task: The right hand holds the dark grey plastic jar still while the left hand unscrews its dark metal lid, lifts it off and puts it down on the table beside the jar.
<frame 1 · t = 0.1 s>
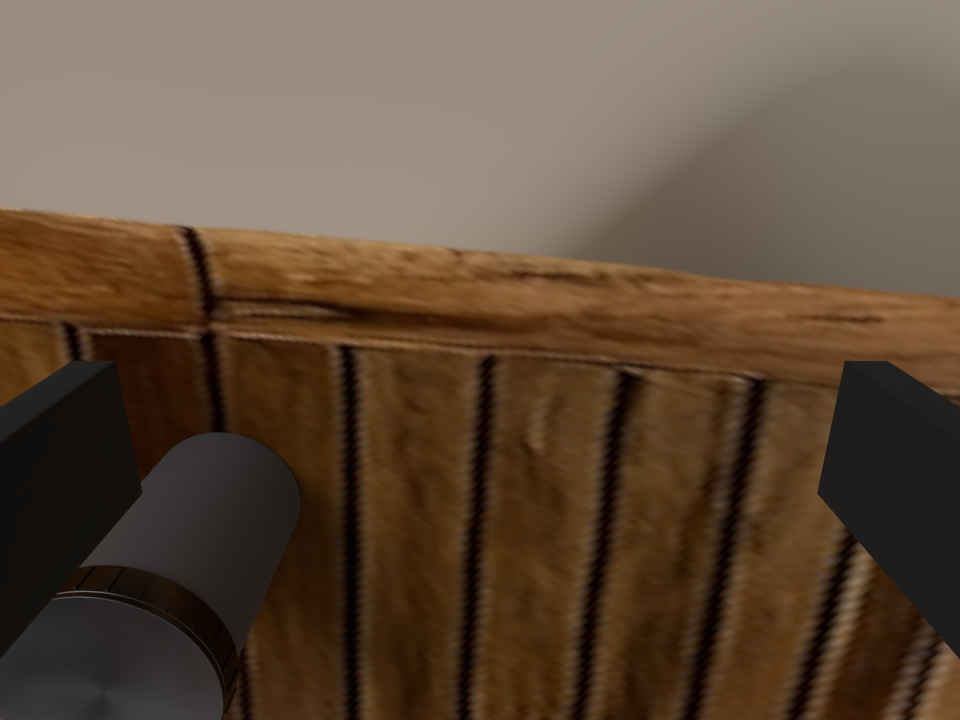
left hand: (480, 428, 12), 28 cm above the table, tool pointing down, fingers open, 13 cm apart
jar: (228, 496, 45), on the table
lid: (107, 686, 31), point 16 cm above the table, screwed on, not yet turned
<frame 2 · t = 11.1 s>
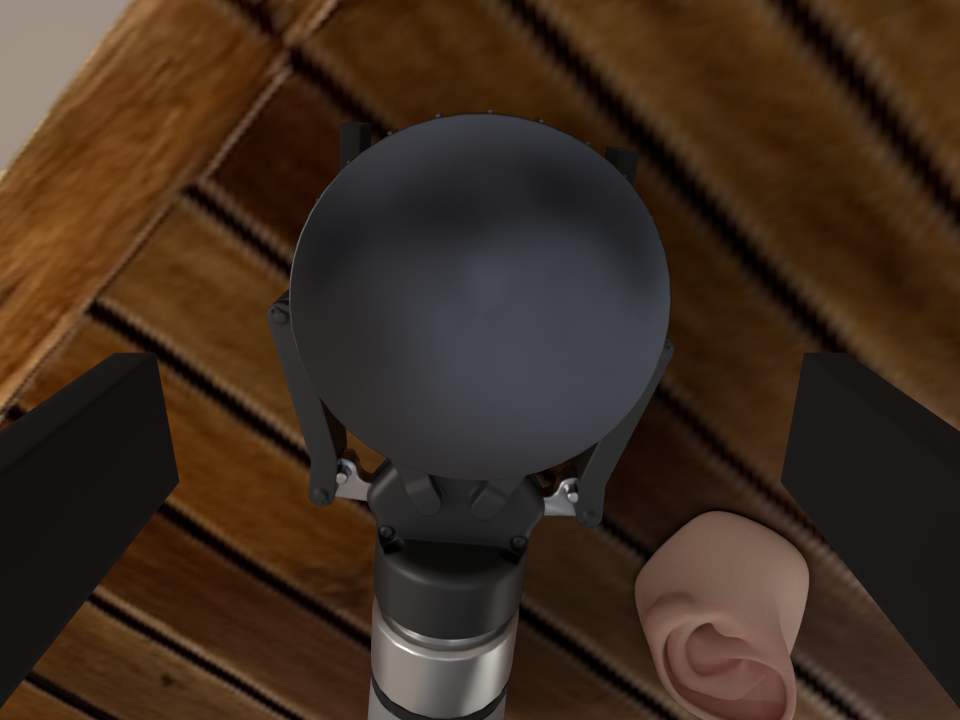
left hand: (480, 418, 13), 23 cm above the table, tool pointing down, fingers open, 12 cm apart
lid: (480, 312, 19), point 16 cm above the table, screwed on, not yet turned
anatomical model: (718, 602, 43), on the table
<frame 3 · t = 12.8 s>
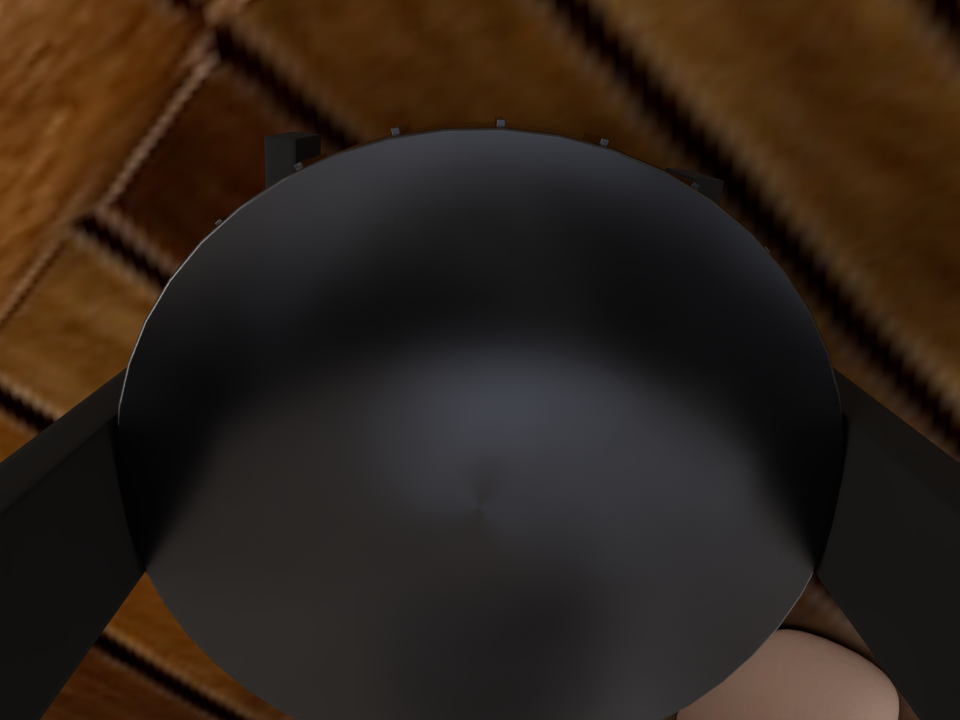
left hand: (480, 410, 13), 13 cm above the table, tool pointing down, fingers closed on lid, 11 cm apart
lid: (480, 493, 10), point 16 cm above the table, screwed on, not yet turned, touching left hand
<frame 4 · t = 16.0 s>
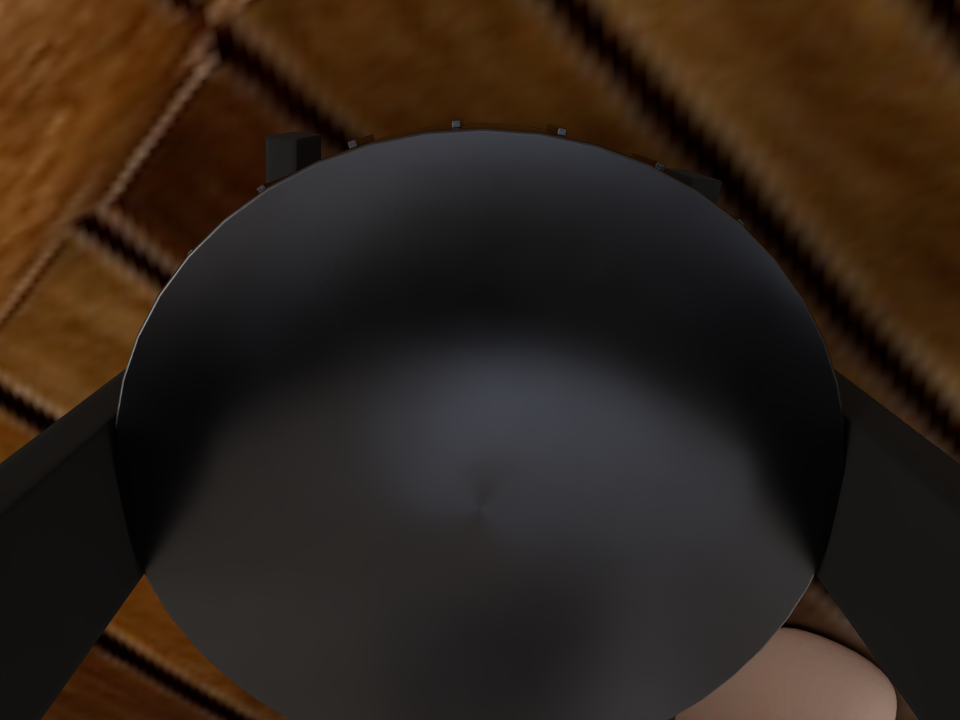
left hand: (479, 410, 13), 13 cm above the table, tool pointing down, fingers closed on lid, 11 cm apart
lid: (479, 495, 10), point 16 cm above the table, turned 93° so far, risen 0.1 cm, still on its thread, touching left hand
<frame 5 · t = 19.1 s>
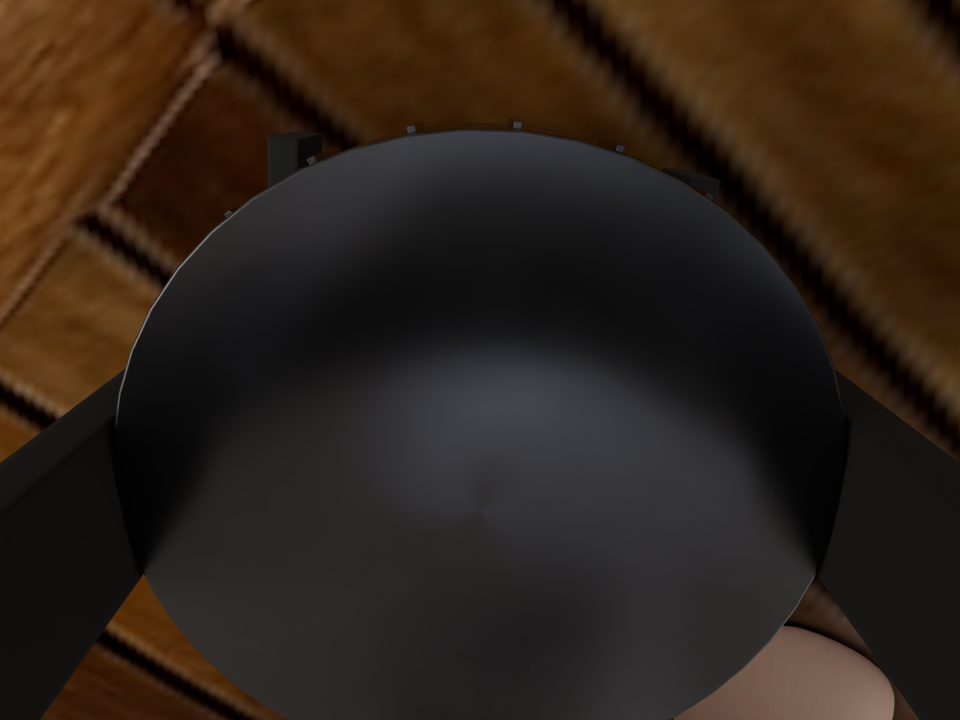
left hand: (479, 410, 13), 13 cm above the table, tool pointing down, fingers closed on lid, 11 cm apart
lid: (479, 496, 10), point 16 cm above the table, turned 185° so far, risen 0.3 cm, still on its thread, touching left hand
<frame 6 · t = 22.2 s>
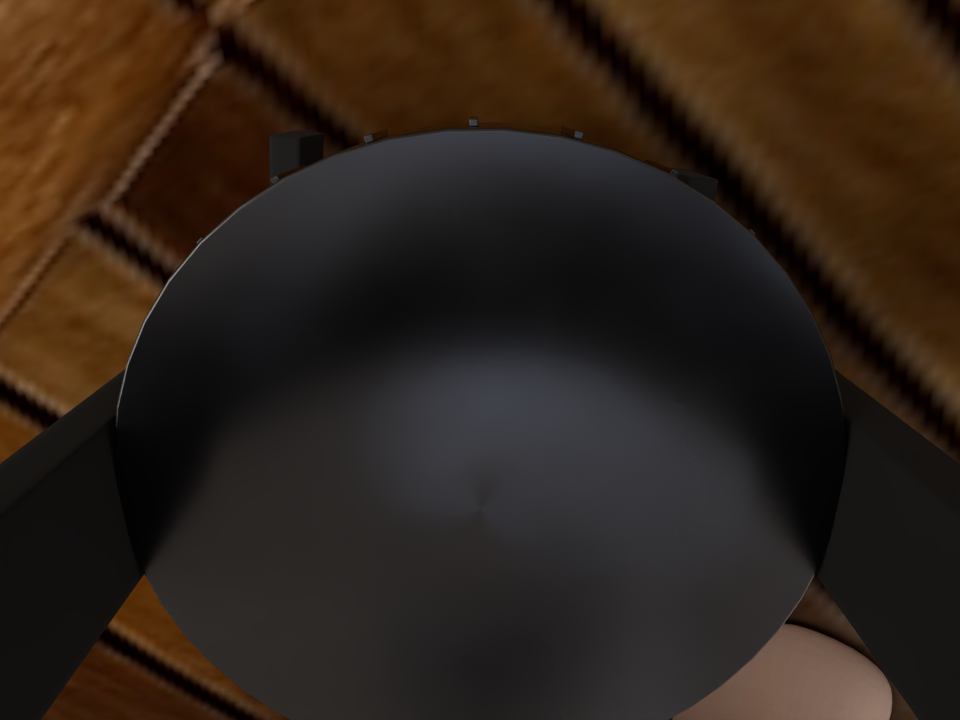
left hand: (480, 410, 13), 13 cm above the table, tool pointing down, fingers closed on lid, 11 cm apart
lid: (480, 495, 10), point 16 cm above the table, turned 278° so far, risen 0.4 cm, still on its thread, touching left hand
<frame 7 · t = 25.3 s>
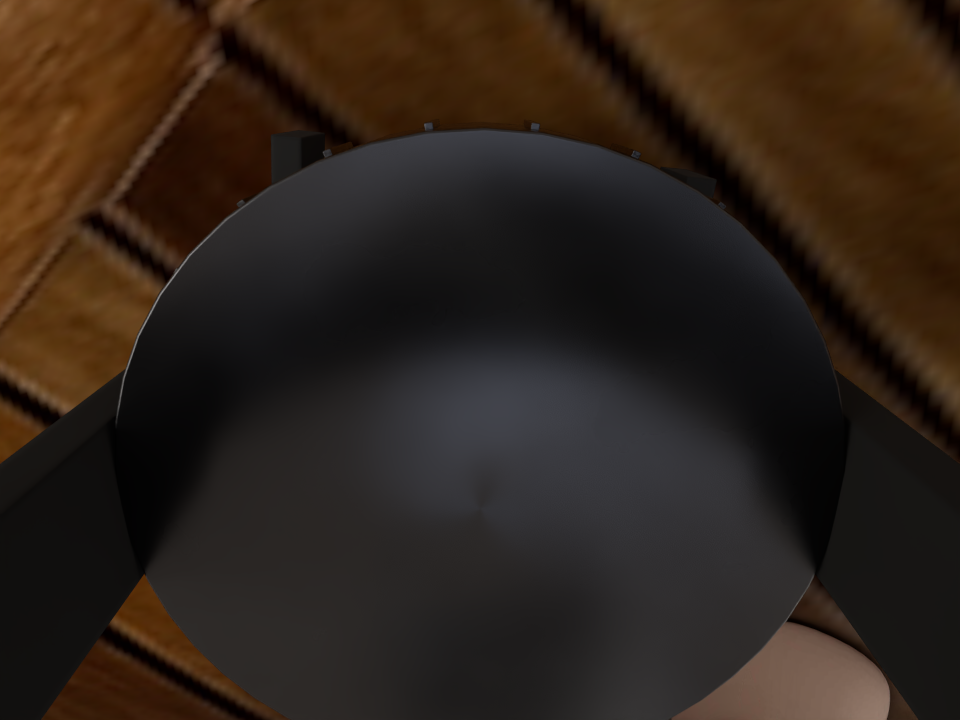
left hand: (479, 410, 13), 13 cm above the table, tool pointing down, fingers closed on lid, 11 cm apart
lid: (480, 495, 10), point 16 cm above the table, turned 370° so far, risen 0.6 cm, still on its thread, touching left hand
when the left hand's fingers open (0 cm above the table, at t = 32.1 s): lid drops 1 cm, point 2 cm above the table.
when the right hand's fingers open (6 cm above the table, at t = 33.1 s): jar stays where it is, on the table.
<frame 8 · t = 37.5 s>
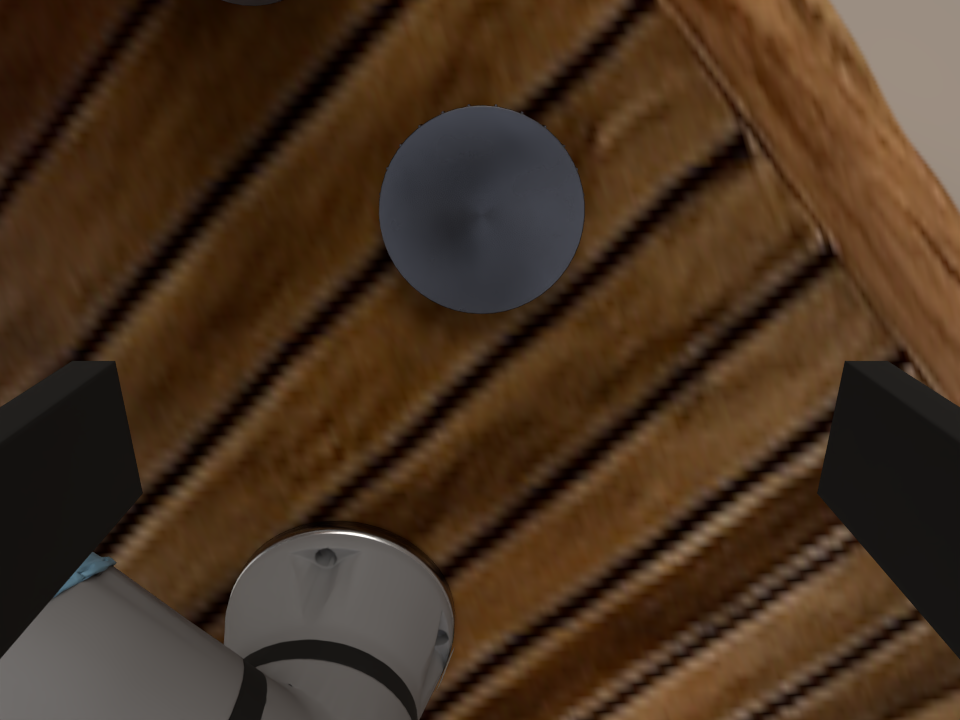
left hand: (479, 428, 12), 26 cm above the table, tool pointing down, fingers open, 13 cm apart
lid: (481, 214, 35), point 2 cm above the table, off its thread
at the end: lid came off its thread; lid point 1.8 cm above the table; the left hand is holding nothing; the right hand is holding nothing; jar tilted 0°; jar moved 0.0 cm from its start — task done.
